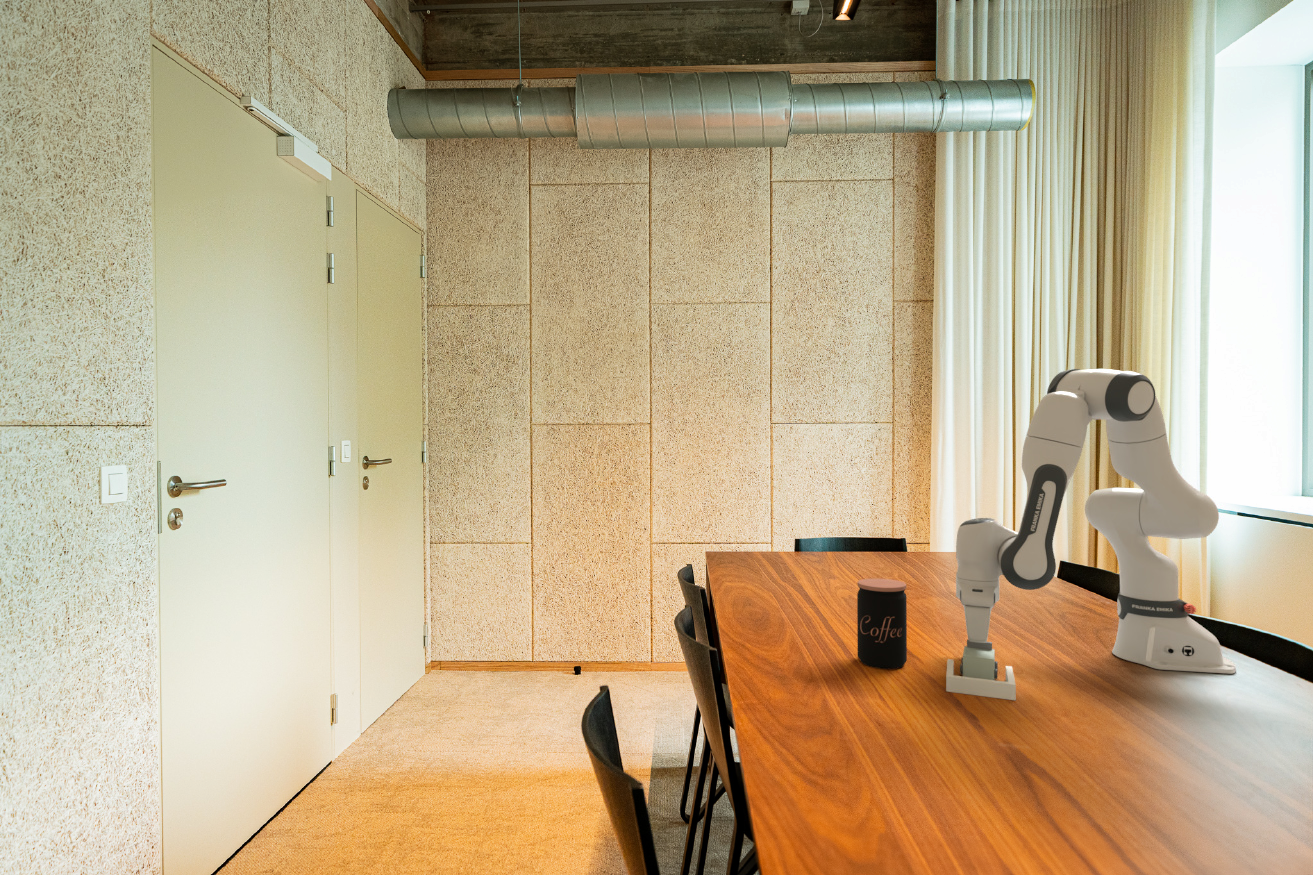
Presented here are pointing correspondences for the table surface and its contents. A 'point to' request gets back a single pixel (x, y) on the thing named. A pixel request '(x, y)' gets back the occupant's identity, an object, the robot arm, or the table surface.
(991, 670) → the sage cart
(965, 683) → the dock bay
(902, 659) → the coffee jar
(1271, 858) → the table surface
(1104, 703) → the table surface
